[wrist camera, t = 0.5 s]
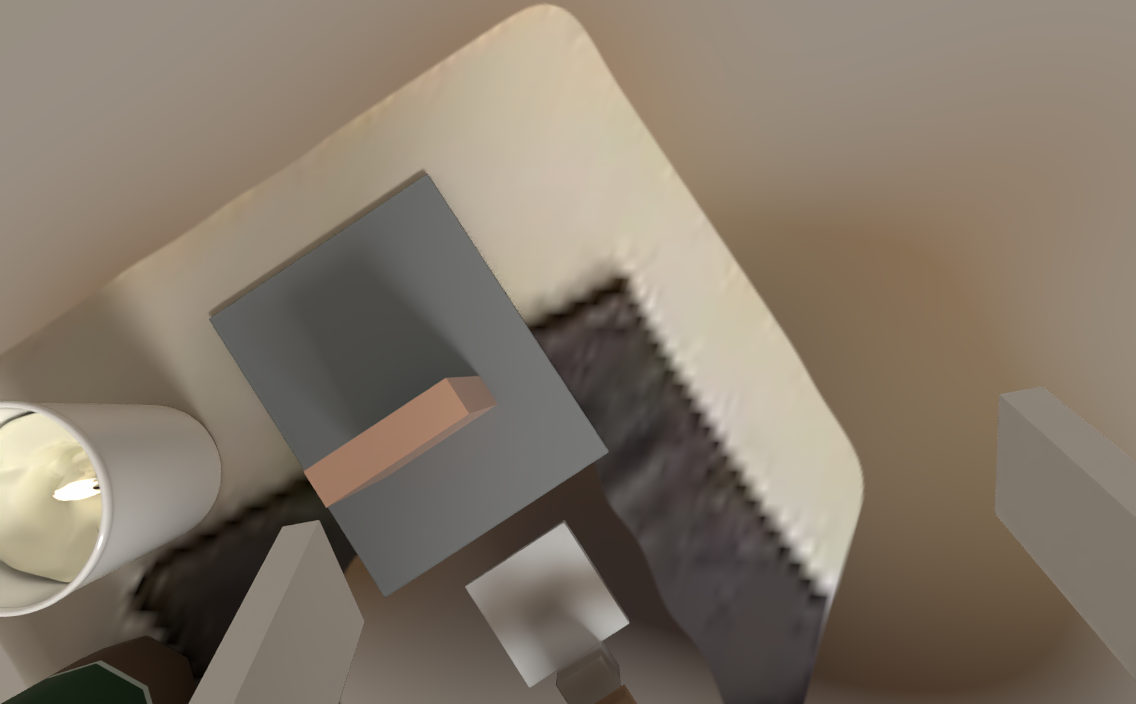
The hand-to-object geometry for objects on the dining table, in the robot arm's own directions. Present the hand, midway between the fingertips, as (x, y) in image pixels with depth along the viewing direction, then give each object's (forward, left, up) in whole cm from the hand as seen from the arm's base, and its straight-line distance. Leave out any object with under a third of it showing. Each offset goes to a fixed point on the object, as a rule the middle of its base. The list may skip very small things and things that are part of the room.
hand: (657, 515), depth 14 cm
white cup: (+13, +25, -30) cm, 42 cm away
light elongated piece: (-13, +9, -30) cm, 34 cm away
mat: (+9, +9, -30) cm, 33 cm away
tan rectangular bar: (+6, +9, -30) cm, 32 cm away
